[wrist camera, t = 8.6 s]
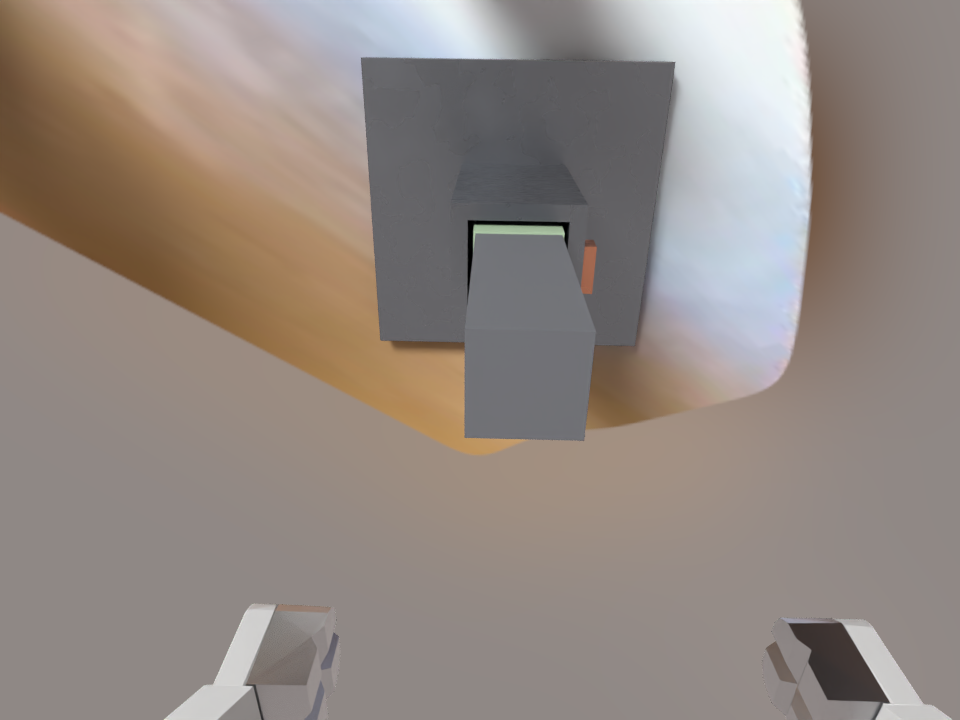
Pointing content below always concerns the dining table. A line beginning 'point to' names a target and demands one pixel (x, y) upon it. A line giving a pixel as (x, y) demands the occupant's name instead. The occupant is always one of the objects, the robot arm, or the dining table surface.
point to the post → (526, 335)
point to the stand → (510, 178)
